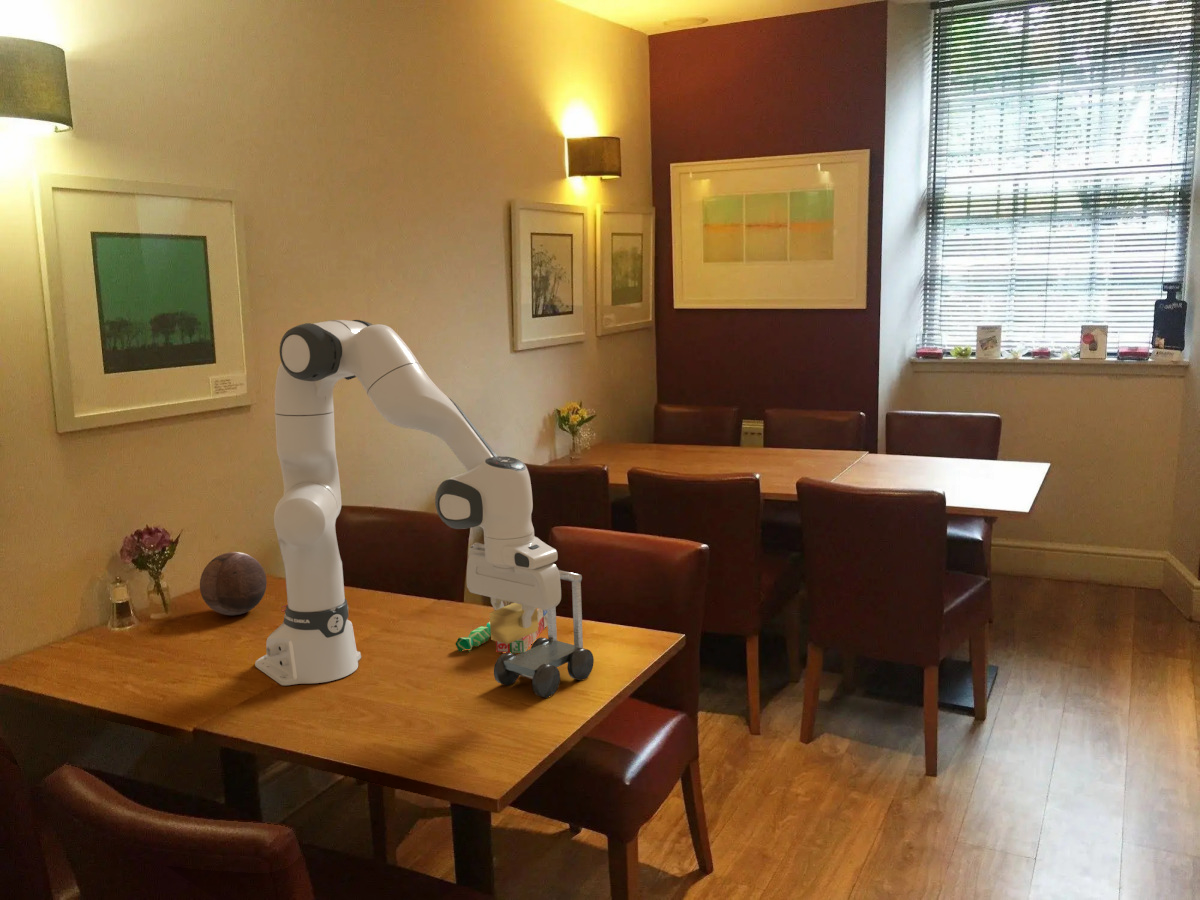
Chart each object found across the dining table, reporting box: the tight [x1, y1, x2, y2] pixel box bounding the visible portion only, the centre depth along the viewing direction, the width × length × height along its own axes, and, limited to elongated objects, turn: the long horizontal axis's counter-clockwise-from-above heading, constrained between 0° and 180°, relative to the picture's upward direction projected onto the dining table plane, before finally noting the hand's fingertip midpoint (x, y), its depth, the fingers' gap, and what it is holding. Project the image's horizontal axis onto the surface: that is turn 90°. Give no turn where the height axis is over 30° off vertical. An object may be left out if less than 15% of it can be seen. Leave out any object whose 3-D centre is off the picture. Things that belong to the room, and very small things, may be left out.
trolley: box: [493, 569, 595, 699], centre depth 193 cm, size 16×12×20 cm
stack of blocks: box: [493, 600, 548, 654], centre depth 219 cm, size 21×6×12 cm, turn 167°
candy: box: [454, 620, 491, 653], centre depth 216 cm, size 12×3×4 cm
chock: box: [489, 603, 538, 644], centre depth 179 cm, size 4×8×5 cm, turn 141°
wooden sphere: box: [199, 551, 268, 616], centre depth 240 cm, size 15×15×15 cm
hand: (514, 623), depth 179 cm, fingers closed on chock, 4 cm apart
